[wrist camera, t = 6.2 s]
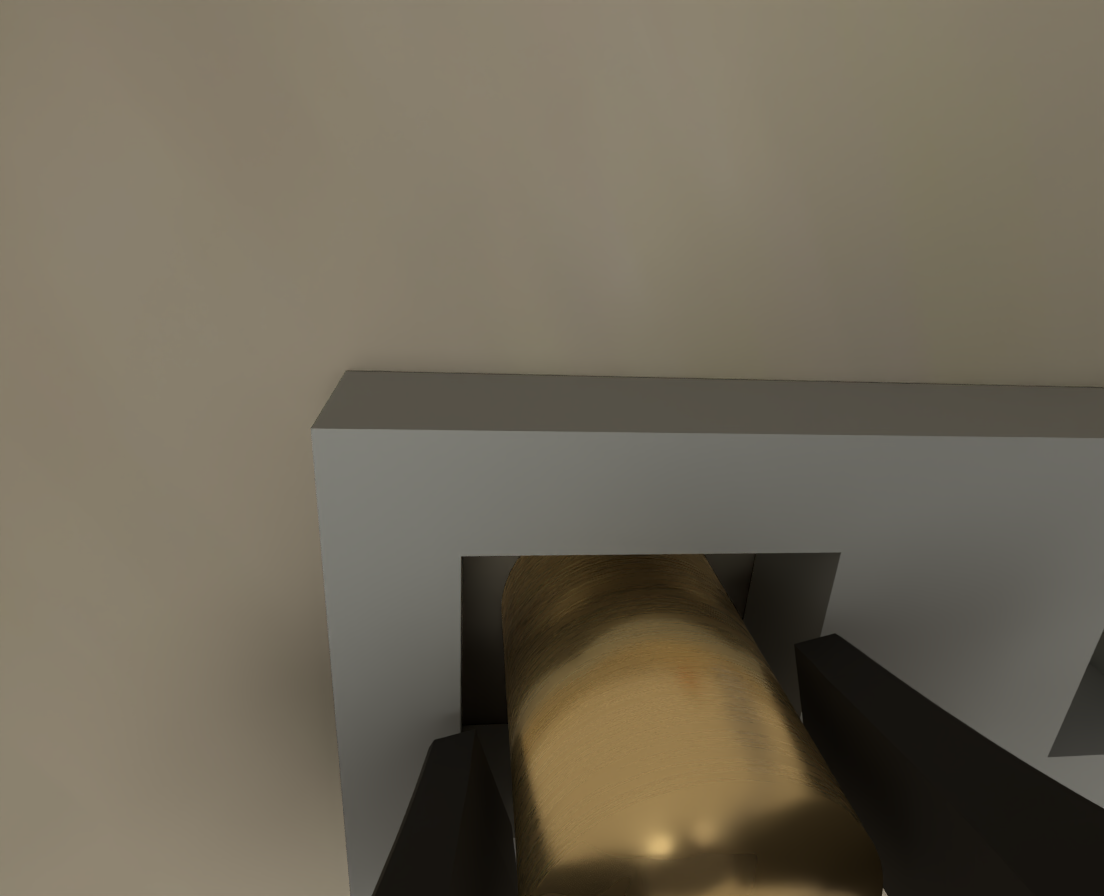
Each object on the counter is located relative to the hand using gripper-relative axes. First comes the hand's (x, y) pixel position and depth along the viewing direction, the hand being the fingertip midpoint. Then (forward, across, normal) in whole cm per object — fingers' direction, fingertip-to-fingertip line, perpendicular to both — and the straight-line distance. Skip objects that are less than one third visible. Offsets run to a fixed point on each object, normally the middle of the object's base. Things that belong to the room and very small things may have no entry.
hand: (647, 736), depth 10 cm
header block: (+3, -4, +1) cm, 5 cm away
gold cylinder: (+3, 0, 0) cm, 3 cm away
